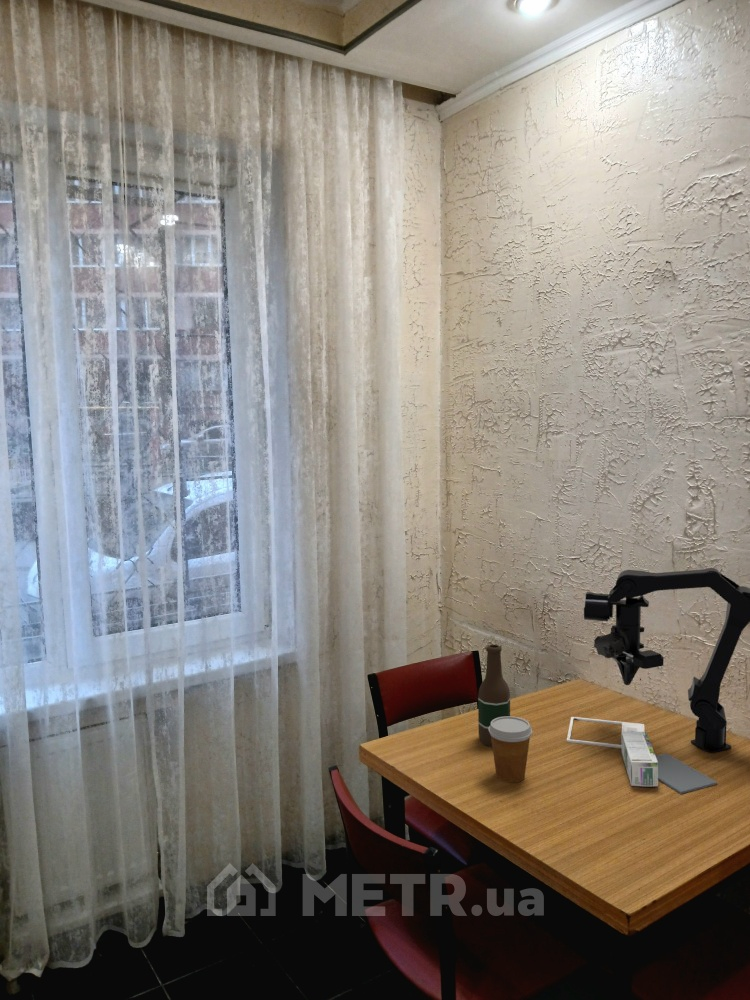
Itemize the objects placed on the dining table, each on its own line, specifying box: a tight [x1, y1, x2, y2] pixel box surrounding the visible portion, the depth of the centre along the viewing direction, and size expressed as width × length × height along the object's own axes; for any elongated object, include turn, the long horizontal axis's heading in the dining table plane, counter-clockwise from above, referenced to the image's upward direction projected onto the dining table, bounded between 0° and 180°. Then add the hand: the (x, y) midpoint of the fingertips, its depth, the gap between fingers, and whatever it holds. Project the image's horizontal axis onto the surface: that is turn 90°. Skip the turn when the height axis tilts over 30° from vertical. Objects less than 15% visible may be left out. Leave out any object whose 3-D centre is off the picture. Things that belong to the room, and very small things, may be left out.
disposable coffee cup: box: [489, 715, 533, 783], centre depth 166 cm, size 10×10×12 cm
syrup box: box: [620, 731, 659, 787], centre depth 167 cm, size 6×6×14 cm
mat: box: [655, 752, 718, 795], centre depth 166 cm, size 10×15×1 cm, turn 22°
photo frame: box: [566, 716, 645, 749], centre depth 187 cm, size 15×1×18 cm
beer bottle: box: [477, 644, 511, 747], centre depth 184 cm, size 8×8×24 cm
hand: (627, 684), depth 185 cm, fingers closed
